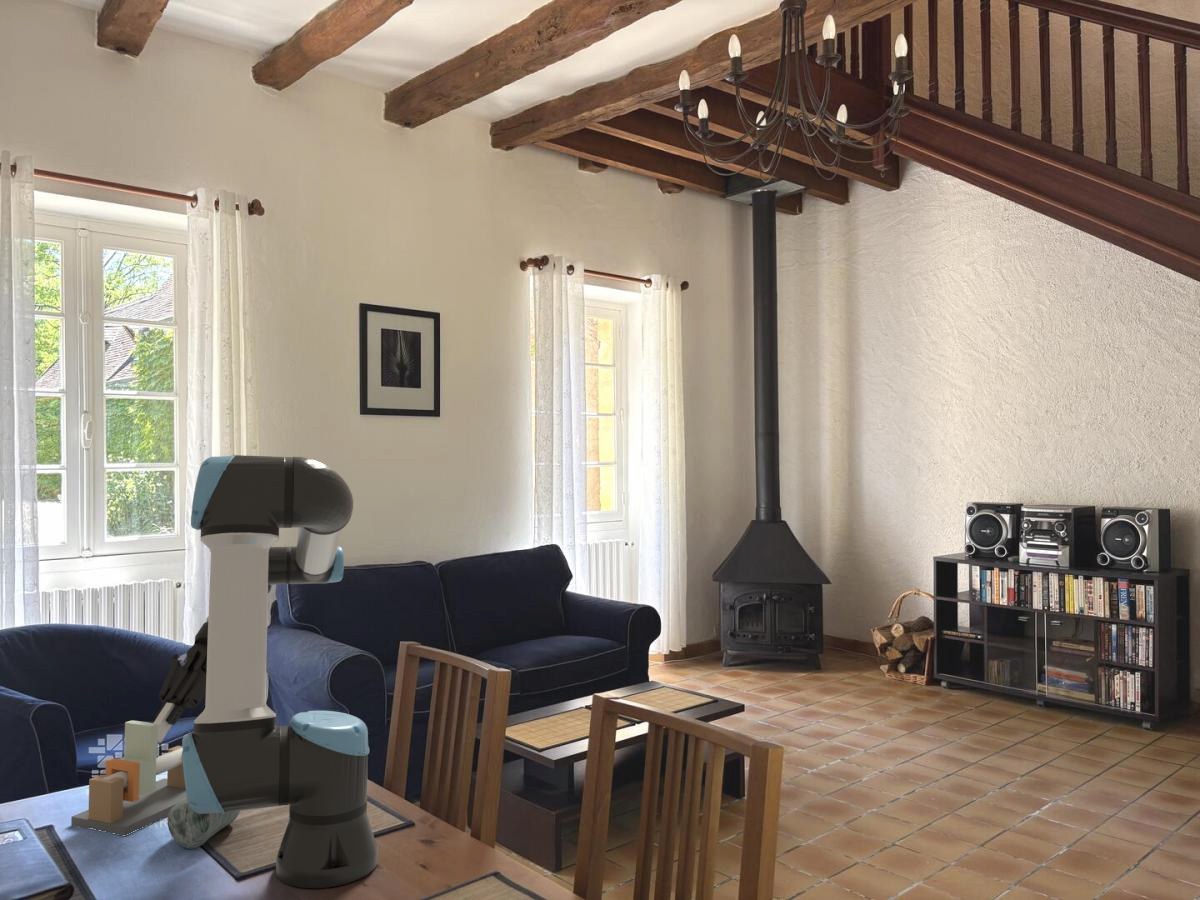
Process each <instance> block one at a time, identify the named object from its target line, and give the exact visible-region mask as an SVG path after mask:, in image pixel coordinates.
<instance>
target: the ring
mask: <svg viewBox="0 0 1200 900" xmlns="http://www.w3.org/2000/svg"><path fill="white" fill-rule="evenodd" d="M117 770H122V771H128V790H124V789H123V800H124V801H130V802H135V801H137V800H139V772H140V763H138V762H132V761H126V760H120V759H119V758H114V757H111V758H108V759H106V760H105V775H106V776H109V775H112V774H115V773H117Z"/></svg>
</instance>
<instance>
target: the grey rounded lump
mask: <svg viewBox="0 0 1200 900" xmlns="http://www.w3.org/2000/svg"><path fill="white" fill-rule="evenodd" d="M240 812H241V810H239V811H230V812H227V813H225V814H222V813H208V814H199V813H196V812H194V811H193V810H192V809H191V808H190V806H189V803H188V799H187V795H186V796H185V797H184V798H182V799H181V800H180V801H179V802H178V803H177V804H176V805H175V806H174V807H172V809H171V810H170V812H169V814H168V816H167V817H166V818H167V819H166V820H167V828H168V830H169V833H170V835H171V837H172V839H174V840H175V842H176V843H177V844H178V845H179V846H181V847H183V848H185V849H190V850H191V849H196V848H198V847H201V846H202V845H204V844H205V843H207V841H208V840H209V839H210V838H212V837H213V836H215V835H216V834H217V833H218V832H219V831H221V830H222V829H225V828H226V827H227V826H229V825H230V824H232V823H233V822H234V821H235V820H236V819H237V818H238V816H239V814H240Z"/></svg>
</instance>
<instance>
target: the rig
mask: <svg viewBox="0 0 1200 900" xmlns="http://www.w3.org/2000/svg"><path fill="white" fill-rule="evenodd" d="M166 772H167V773H166ZM163 773H166V774H167V776H166V777H167V778H165V777H163V778H161V779H159V780H156V789H155V790H153V791H150V792H148V793H146V794H143V795H141V796H139V800H137V801H135V802H130V801H124V800H123V789H124V788H128V771H120V772H117V773H115V774H112V775H109V776H106V774H99V775H97V776H94V777H91V778H89V780H88V809H87V810H85V811H82V812H80V813H77V814H75V815H73V816H71V823H70V824H71V826H72V827H76V828H83V829H86V828H93V829H96V830H101V831H106V832H110V833H109V834H111V833H115V834H114V835H116V834H119V835H118V836H121V835H127V834H129V833H131V832H133V831H135V830H137V829H139V830H141V829H140V828H142V827H144V828H145V826H146V825H148V826H149V824H150V825H152V824H155V823H156V821H157V822H158V820H159V821H161V820H162V818H163V819H165V818H168V814H169V812H170V810H171V809H172V807H174V806H175V805H176V804H177V803H178V802H179V801H180V800H181V799H182V798H184V797H185V796H186V795H187V794H186V787H185V780H184V770H183V748H182V745H176V746H174V747H171V748H168V750H167V753H164V754H162V755H159V756H157V758H156V776H159V775H162V774H163ZM160 819H161V820H160ZM151 823H152V824H151ZM146 827H147V826H146ZM142 829H143V828H142ZM96 830H95V831H96ZM101 831H100V832H101ZM137 831H138V830H137ZM106 832H105V833H106ZM135 832H136V831H135ZM133 833H134V832H133ZM131 834H132V833H131ZM129 835H130V834H129ZM127 836H128V835H127Z"/></svg>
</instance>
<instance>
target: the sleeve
mask: <svg viewBox="0 0 1200 900" xmlns="http://www.w3.org/2000/svg"><path fill="white" fill-rule="evenodd" d="M158 744H159V743H158V724H155V723H154V722H147V721H139V720H129V721H125V722H124V752H123V753H124V756H122V757H120V758H118V759H120V760H126V761H132V762H138V763H140V772H139V796H141V795H143V794H146V793H148V792H150V791H153V790H155V789H156V781H157V775H156V758H157V757H158ZM120 771H122V770H117V772H120ZM124 790H128V788H124Z"/></svg>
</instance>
